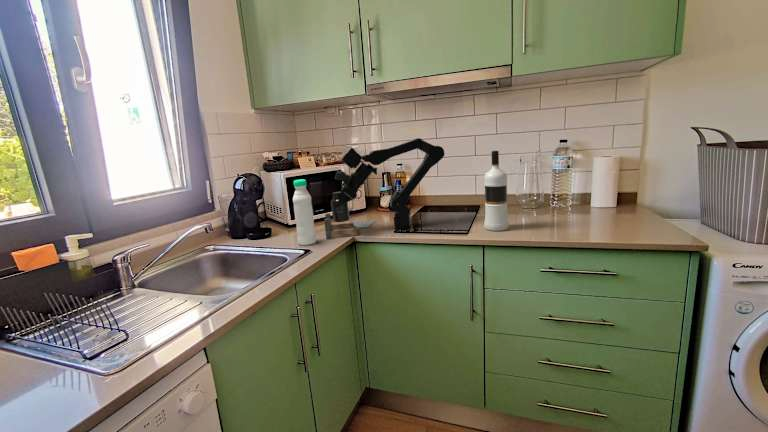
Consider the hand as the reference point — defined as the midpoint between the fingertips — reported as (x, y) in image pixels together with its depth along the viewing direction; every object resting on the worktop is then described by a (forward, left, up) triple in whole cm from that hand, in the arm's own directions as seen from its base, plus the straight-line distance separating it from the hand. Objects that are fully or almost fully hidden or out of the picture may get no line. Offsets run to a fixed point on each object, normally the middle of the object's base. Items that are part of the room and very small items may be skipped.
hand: (336, 205), depth 155 cm
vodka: (-63, -7, -12) cm, 65 cm away
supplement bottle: (-1, 0, -7) cm, 7 cm away
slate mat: (-3, -15, -12) cm, 20 cm away
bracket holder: (-1, 0, -12) cm, 12 cm away
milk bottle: (+8, +14, -12) cm, 20 cm away
